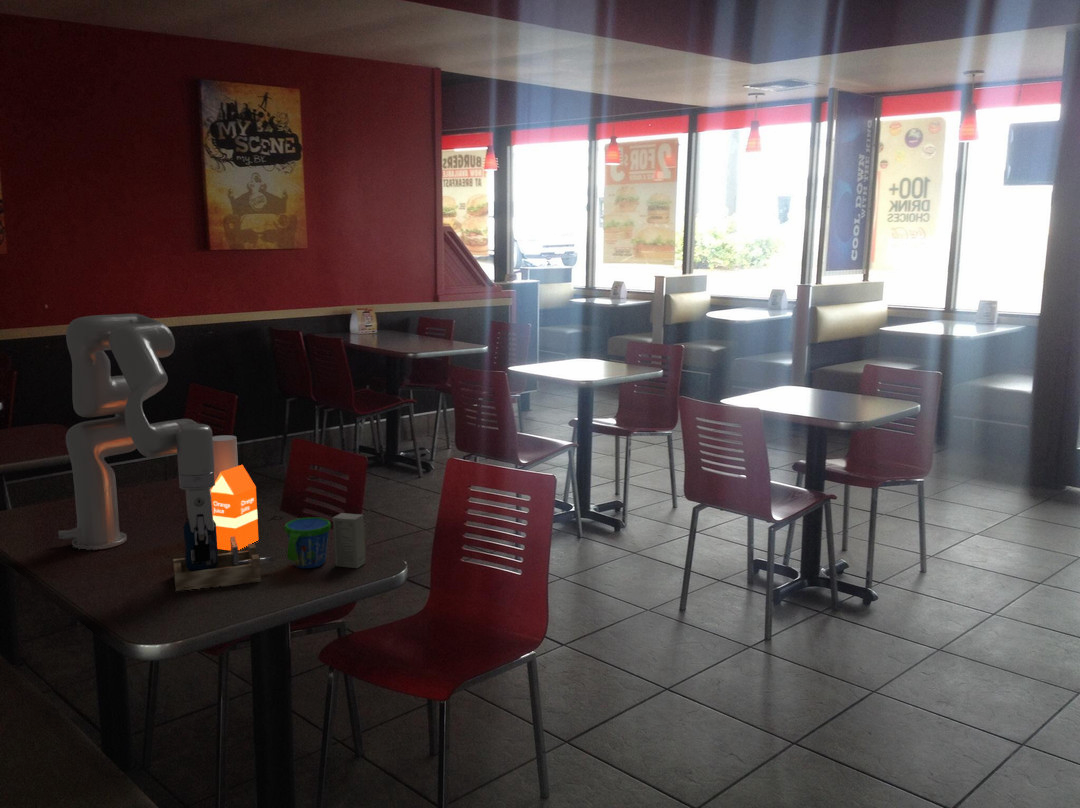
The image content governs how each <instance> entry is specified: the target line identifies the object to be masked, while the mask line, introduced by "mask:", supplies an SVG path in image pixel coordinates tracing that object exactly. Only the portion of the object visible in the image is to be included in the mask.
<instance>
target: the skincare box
mask: <svg viewBox="0 0 1080 808" xmlns="http://www.w3.org/2000/svg"><path fill="white" fill-rule="evenodd" d="M364 519H365V518H364V514H360V513H349V512H348V513H347V512H341V513H338V514H337V515H335V516H333V517H332V528H333V529H332V531H333V542H334V544H333V545H334V561H335V563H334V564H335V566H336V567H343V568H351V569H359V568H360V567H361V566H363V565H365V564H366V563H367V559H366V557H367V556H366V555H367V554H366V553H367V552H366V538H365V522H364Z"/></svg>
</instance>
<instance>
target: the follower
mask: <svg viewBox="0 0 1080 808" xmlns="http://www.w3.org/2000/svg"><path fill="white" fill-rule="evenodd" d="M230 543H231V551H230V553H231V561H232V566H240V565H248V564H252V559H249V560H241V561H239V560H238V552H239V551H238V546H237V543H236V539H235V536H232V537H230ZM259 558H260V564H266V563H274V556H269V557H267V556H266V557H259Z"/></svg>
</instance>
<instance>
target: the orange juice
mask: <svg viewBox="0 0 1080 808" xmlns="http://www.w3.org/2000/svg"><path fill="white" fill-rule="evenodd" d="M211 495H212V509H213V520H214V522H215V523H216V532H217V549H218V550H224V551H229V552H231V543H230V537H232V536H235V539H236V543H237V546H238V550H239V551H241V550H243V549H245V548H247V547H248V544H252V543H254V542H256V541H258V540H259V524H258V523H259V521H258V519H259V517H258V506H257V505H258V503H257V501H258V500H257V486H256V484H255V483H254V482H253V480H252V478H251V476H250V474H249V473H248V471H247V469H246V468H245V467H244V465H243V464H241V465H239V464H238V466H236V467H233V468H231V469H228V470H225V471H222V472H220V474H219V476H218V478H217V480H216V481H215V486H213V487H212V489H211ZM258 542H259V541H258ZM256 543H257V542H256ZM254 544H255V543H254ZM246 546H247V547H246ZM244 547H245V548H244ZM242 548H243V549H242ZM240 549H241V550H240Z"/></svg>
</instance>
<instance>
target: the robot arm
mask: <svg viewBox="0 0 1080 808" xmlns="http://www.w3.org/2000/svg"><path fill="white" fill-rule="evenodd" d="M65 335H66V336H65V338H66V339H65V341H66V345H67V350H68V352H69V355H70V359H71V364H72V365H71V366H72V367H71V371H72V372H71V380H72V381H71V382H72V383H71V384H72V388H71V389H72V393H71V394H72V396H71V397H72V406H73V411H74V412H75V413H76V414H77V415H78V416H80V417H82V418H96V417H97V418H99V417H104V416H109V415H114V417H108V418H107V417H106V418H100V419H93V420H86V421H82V422H79V423H76V424H74V425H72V426H71V427H70V428H69V429H68V430H67V432H66V434H65V444H66V448H67V451H68V455H69V459H70V463H71V468H72V469H71V471H72V479H73V486H74V499H75V511H76V513H75V514H76V522H77V525H76V527H75V528H72V529H69V530H65V529H64V530H58V531H57V532H58V539H63V541H66V540H72V539H73V540H72V542H71V545H73V546H72V548H74V547H75V548H74V549H76V548H78V549H77V550H80V549H86V550H85V551H97V550H98V549H99V550H105V549H110V548H114V547H117V546H120V545H122V544H124V543H126V542H127V540H128V539H127V534H126V533H124V532H121V531H120V521H119V519H120V517H119V509H118V508H119V506H118V495H117V482H116V475H115V471H114V469H113V468H112V466H110V464H109V463H107V461H106V460H105V458H108V457H110V456H111V457H112V456H117V455H122V454H127V453H130V452H131V453H132V452H133V451H135V450H136V449H137V451H138V452H139V453H140V454H141V455H142V456H144V457H146V458H151V459H152V458H158V457H163V456H169V455H174V454H177V469H178V470H177V471H178V485H179V486H178V487H179V489H181V490H184V491H185V501H186V502H185V503H186V511H187V518H188V519H189V524H190V529H191V532H192V533H194V537H195V545H194V556H195V562H204V561H209V560H210V548H209V543H208V534H207V532H208V531H207V529H208V530H211V531H213V530H214V524H213V509H212V495H211V487H213V486H215V472H214V455H213V437H214V436H213V430H212V428H211V426H210V425H208V424H204V423H198V422H197V421H194V420H193V419H190V418H180V419H172V420H166V421H165V420H164V421H159V422H155V423H150V422H149V421H148V418H147V417H146V415H145V413H144V408H143V402H144V401H146V400H147V399H149V398H150V397H152V396H154V395H156V394H157V393H159V392H161V391H162V390H163V389H164V388H165V386H167V383H168V381H169V379H168V375H167V373H166V371H165V369H164V366H163V365H162V363H161V360H160V359H161V358H162V359H163V358H167V357H169V356H171V355H172V354H173V352H174V350H175V348H176V347H175V346H176V340H175V337H174V335H173V332H172V330H170V328H169V327H168V326H167V325H166V324H165V323H163V322H161V321H160V320H156V319H154V318H151V317H148V316H147V315H143V314H139V313H118V314H98V315H97V314H94V315H87V316H82V317H81V316H80V317H77V318H75V319H73V320H72V321H71V322H69V324H68V326H67V329H66V333H65ZM105 351H111V352H112V354H113V357H114V359H115V360H116V363H117V365H118V367H119V369H120V371H121V373H122V375H114V376H113V375H111V366H112V365H111V360H110V358H109V356H108V355H107V354H106V352H105ZM159 358H160V359H159ZM204 527H205V530H204ZM196 528H198V531H196ZM204 533H205V535H204ZM197 534H198V536H197ZM197 541H198V542H197ZM91 549H92V550H91ZM99 550H98V551H99Z"/></svg>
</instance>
